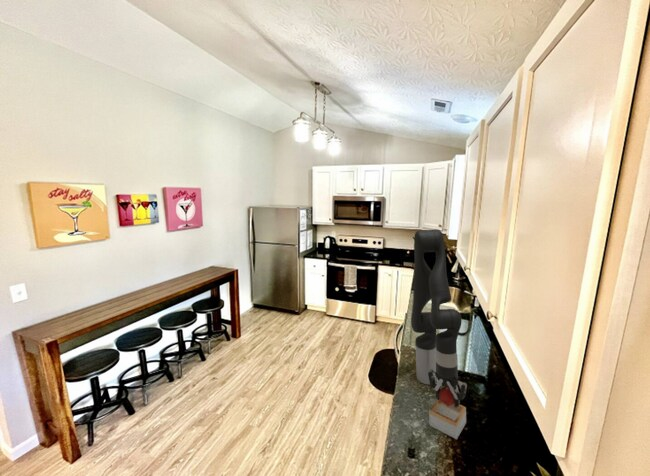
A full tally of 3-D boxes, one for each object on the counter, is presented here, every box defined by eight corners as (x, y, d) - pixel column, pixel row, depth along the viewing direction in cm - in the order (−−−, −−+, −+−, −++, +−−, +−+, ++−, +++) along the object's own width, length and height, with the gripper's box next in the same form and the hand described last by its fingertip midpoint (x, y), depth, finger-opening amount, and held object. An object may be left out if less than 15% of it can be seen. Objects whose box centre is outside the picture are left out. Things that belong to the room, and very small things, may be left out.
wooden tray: (443, 406, 115) (442, 391, 114) (468, 418, 108) (468, 402, 107) (429, 425, 106) (429, 409, 105) (456, 439, 99) (456, 423, 98)
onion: (436, 405, 105) (436, 386, 104) (442, 397, 109) (442, 379, 108) (452, 413, 100) (452, 393, 100) (458, 404, 104) (457, 385, 104)
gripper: (470, 363, 100) (471, 405, 102) (431, 350, 110) (433, 389, 112) (463, 373, 95) (464, 417, 97) (423, 358, 105) (424, 399, 107)
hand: (447, 402), depth 104 cm, fingers closed on onion, 6 cm apart
